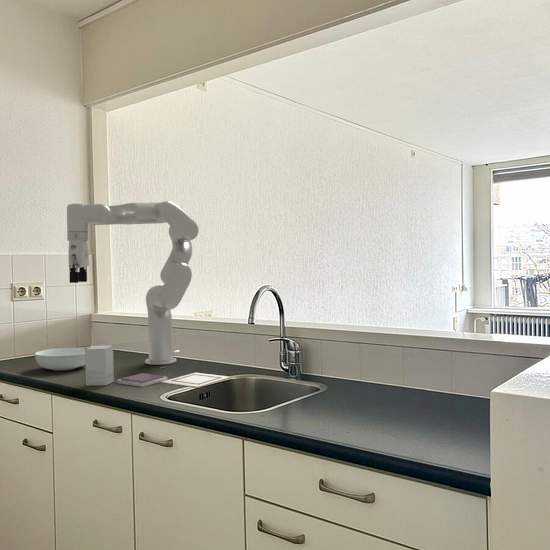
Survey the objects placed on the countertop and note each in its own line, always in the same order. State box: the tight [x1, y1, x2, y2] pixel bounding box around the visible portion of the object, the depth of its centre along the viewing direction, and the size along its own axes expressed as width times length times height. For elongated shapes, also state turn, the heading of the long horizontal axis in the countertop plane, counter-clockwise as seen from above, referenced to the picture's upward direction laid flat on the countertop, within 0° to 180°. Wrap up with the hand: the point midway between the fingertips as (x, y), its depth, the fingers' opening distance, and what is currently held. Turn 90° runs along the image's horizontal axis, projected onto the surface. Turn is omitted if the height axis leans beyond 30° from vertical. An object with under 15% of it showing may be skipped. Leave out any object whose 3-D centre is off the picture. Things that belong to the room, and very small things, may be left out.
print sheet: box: [160, 372, 231, 389], centre depth 199 cm, size 18×16×1 cm
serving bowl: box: [34, 347, 86, 372], centre depth 225 cm, size 21×21×7 cm
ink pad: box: [116, 373, 168, 388], centre depth 198 cm, size 12×12×2 cm
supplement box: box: [84, 345, 115, 387], centre depth 196 cm, size 7×7×13 cm
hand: (78, 282), depth 215 cm, fingers open, 9 cm apart
